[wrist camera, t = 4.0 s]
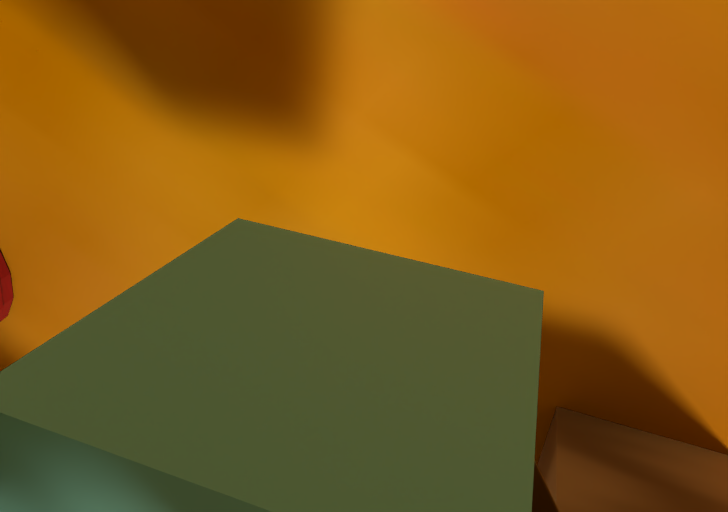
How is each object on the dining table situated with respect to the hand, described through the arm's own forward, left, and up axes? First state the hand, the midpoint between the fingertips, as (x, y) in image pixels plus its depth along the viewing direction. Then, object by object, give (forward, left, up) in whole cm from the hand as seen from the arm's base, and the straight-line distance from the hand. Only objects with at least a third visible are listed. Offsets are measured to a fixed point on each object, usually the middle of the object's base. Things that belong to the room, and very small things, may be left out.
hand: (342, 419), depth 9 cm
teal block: (0, 0, -1) cm, 1 cm away
